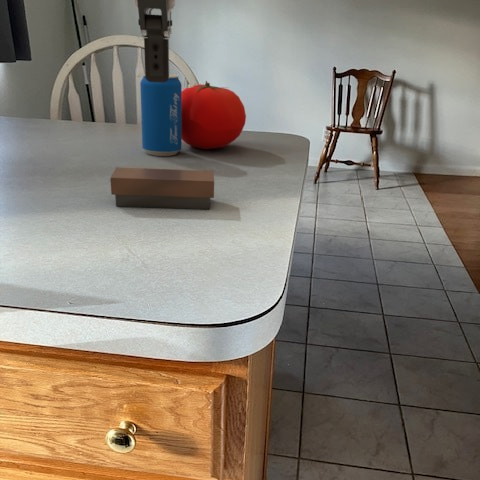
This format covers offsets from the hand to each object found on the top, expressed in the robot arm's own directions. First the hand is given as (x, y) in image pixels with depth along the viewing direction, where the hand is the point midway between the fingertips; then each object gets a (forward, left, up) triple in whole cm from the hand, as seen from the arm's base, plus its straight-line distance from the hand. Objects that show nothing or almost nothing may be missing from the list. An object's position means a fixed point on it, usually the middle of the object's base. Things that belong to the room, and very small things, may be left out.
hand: (157, 81), depth 53 cm
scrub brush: (0, +8, -15) cm, 17 cm away
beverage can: (-2, +36, -15) cm, 39 cm away
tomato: (+6, +42, -15) cm, 45 cm away
